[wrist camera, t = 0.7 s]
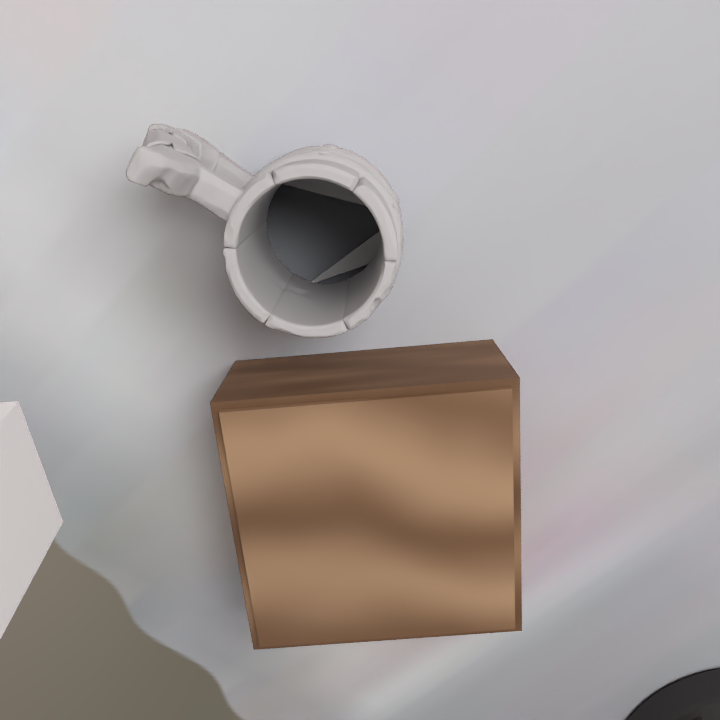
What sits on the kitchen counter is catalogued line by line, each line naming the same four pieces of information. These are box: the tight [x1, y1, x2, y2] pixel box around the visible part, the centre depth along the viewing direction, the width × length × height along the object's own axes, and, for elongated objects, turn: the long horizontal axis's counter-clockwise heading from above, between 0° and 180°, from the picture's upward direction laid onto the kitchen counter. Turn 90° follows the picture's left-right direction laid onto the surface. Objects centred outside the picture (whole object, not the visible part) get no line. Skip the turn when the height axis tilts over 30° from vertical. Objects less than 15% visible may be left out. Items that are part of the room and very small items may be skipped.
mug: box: [126, 124, 403, 338], centre depth 26 cm, size 8×12×12 cm, turn 59°
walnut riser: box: [210, 339, 522, 649], centre depth 33 cm, size 14×14×6 cm
